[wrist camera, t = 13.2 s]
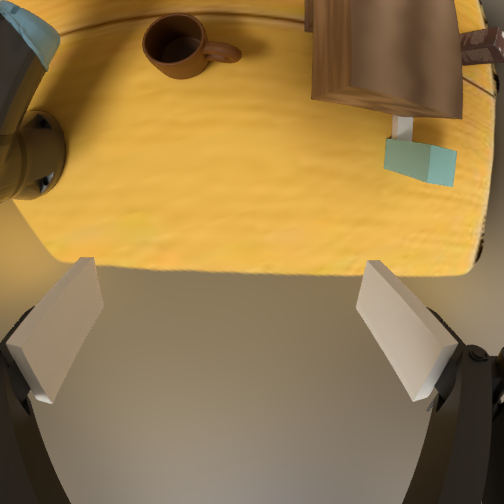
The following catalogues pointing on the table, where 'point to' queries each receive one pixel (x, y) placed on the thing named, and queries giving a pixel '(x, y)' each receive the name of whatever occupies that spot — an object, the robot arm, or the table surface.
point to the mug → (184, 46)
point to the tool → (418, 156)
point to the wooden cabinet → (387, 55)
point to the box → (482, 46)
